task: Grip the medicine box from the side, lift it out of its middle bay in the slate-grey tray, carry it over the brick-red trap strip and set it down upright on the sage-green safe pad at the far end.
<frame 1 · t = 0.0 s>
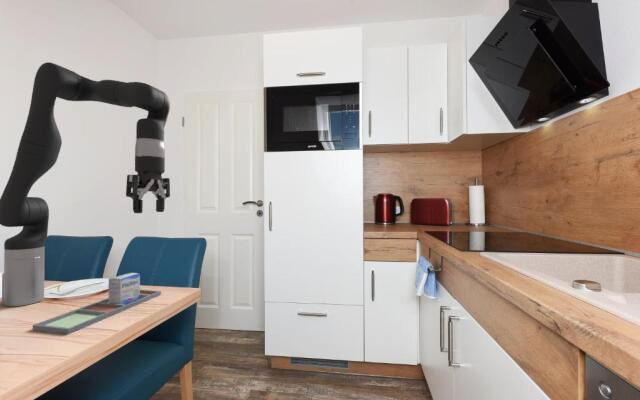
hand: (149, 212, 88), 29 cm above the table, tool pointing down, fingers open, 8 cm apart
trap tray: (106, 309, 92), on the table
safe pad: (73, 322, 82), resting in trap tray
medicine box: (124, 303, 98), resting in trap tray
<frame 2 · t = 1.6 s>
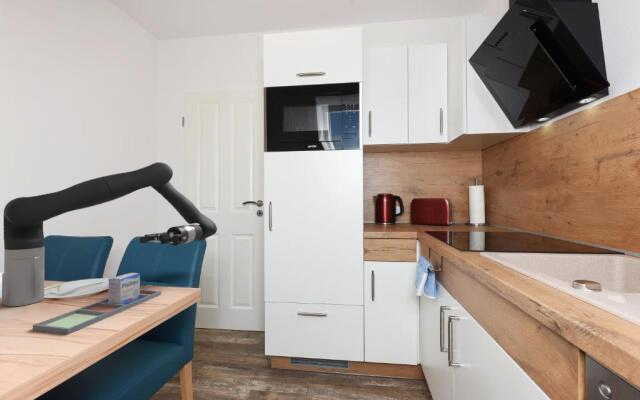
hand: (151, 240, 108), 18 cm above the table, tool horizontal, fingers open, 8 cm apart
nothing on the table moved.
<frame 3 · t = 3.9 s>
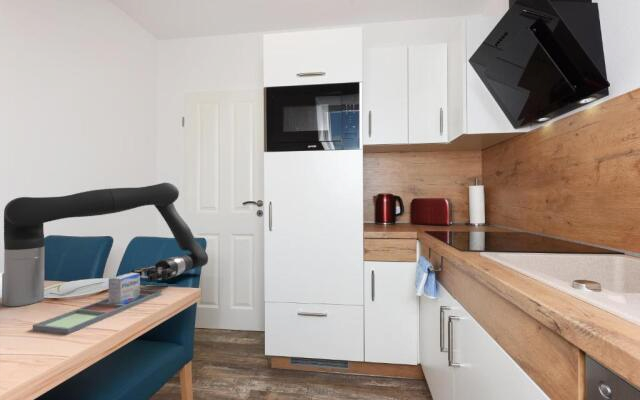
hand: (137, 278, 103), 6 cm above the table, tool horizontal, fingers open, 8 cm apart
nothing on the table moved.
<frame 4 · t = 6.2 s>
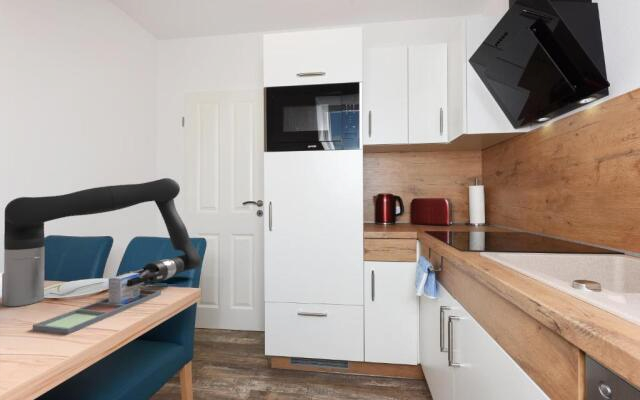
hand: (121, 282, 97), 7 cm above the table, tool horizontal, fingers closed on medicine box, 4 cm apart
medicine box: (124, 303, 98), resting in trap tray, touching gripper
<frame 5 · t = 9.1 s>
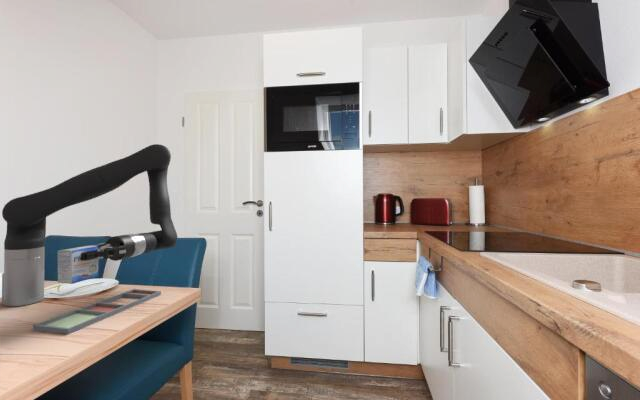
hand: (74, 256, 82), 18 cm above the table, tool horizontal, fingers closed on medicine box, 4 cm apart
medicine box: (78, 280, 83), point 11 cm above the table, touching gripper
when the fingers open (8 cm above the table, at t = 12.0 s): medicine box stays where it is, resting on safe pad.
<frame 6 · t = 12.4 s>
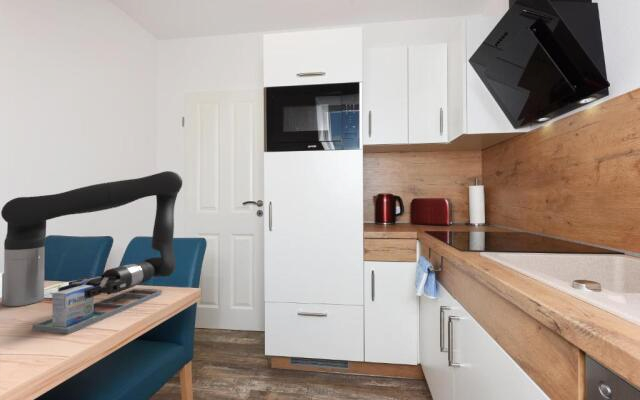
hand: (72, 293, 81), 8 cm above the table, tool horizontal, fingers open, 8 cm apart
medicine box: (73, 322, 82), resting on safe pad
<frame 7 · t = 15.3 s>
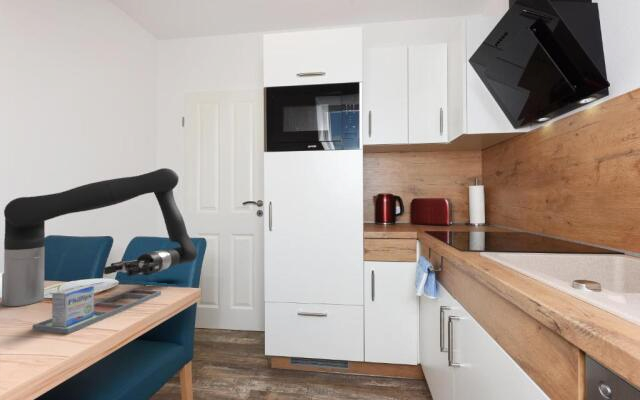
hand: (116, 271, 95), 10 cm above the table, tool horizontal, fingers open, 8 cm apart
nothing on the table moved.
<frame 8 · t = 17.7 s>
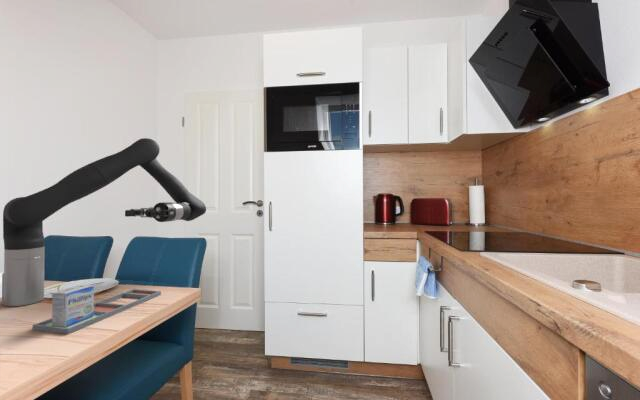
hand: (136, 213, 105), 28 cm above the table, tool horizontal, fingers open, 8 cm apart
nothing on the table moved.
at the end: medicine box inside the target area (0.2 cm from its centre), resting on safe pad; medicine box tilted 0°; the gripper is holding nothing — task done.
